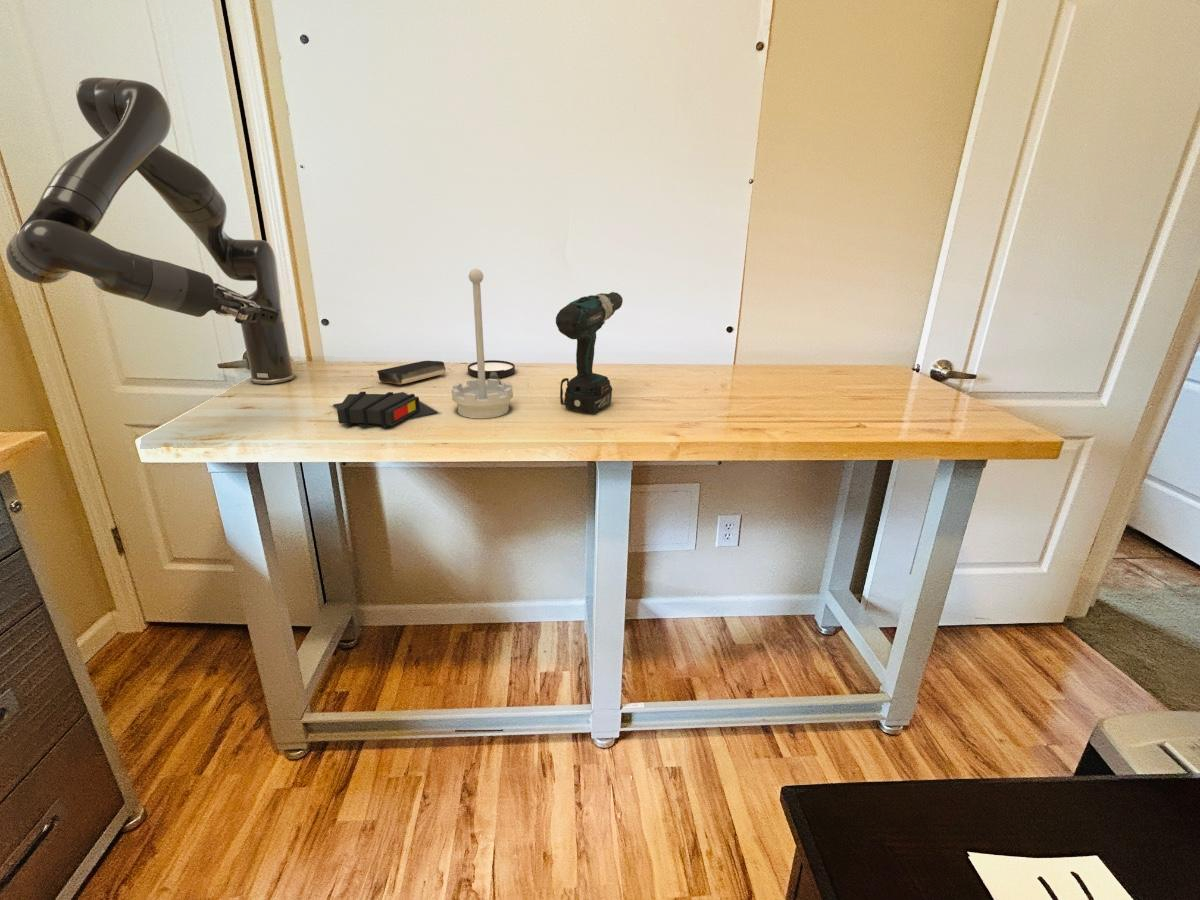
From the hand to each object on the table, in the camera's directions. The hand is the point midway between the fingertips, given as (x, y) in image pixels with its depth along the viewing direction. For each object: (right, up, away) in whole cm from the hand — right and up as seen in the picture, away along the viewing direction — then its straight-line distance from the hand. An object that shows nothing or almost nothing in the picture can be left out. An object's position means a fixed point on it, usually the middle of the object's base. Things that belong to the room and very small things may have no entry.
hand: (275, 316), depth 115 cm
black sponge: (+14, -8, +39) cm, 42 cm away
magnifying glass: (+34, -7, +42) cm, 54 cm away
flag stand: (+36, -17, +18) cm, 44 cm away
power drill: (+60, -15, +23) cm, 66 cm away
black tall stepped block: (+9, -17, +9) cm, 21 cm away
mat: (+15, -17, +17) cm, 28 cm away
